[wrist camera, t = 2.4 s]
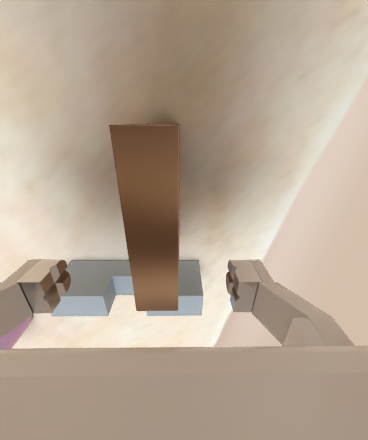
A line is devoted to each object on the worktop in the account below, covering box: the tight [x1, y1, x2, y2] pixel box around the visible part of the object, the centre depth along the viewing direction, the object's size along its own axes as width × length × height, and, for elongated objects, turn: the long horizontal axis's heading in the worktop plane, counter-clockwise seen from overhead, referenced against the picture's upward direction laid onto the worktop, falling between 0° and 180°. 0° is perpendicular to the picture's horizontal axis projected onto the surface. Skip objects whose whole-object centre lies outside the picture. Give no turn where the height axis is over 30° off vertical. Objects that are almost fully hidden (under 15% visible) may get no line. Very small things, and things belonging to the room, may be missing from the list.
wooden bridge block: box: [109, 124, 179, 311], centre depth 16 cm, size 12×3×10 cm, turn 179°
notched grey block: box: [51, 260, 203, 316], centre depth 22 cm, size 3×16×6 cm, turn 89°
